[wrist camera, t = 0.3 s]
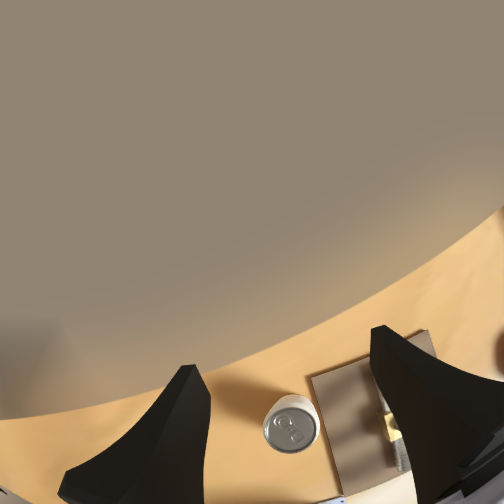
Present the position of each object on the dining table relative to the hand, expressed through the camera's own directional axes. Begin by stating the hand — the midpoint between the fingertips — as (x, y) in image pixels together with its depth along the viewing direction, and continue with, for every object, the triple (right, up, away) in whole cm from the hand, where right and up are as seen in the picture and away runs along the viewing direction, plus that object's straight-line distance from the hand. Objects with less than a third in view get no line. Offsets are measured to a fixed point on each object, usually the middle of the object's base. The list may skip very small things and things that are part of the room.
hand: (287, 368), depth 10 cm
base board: (+20, -20, +21) cm, 35 cm away
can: (+5, -19, +25) cm, 32 cm away
